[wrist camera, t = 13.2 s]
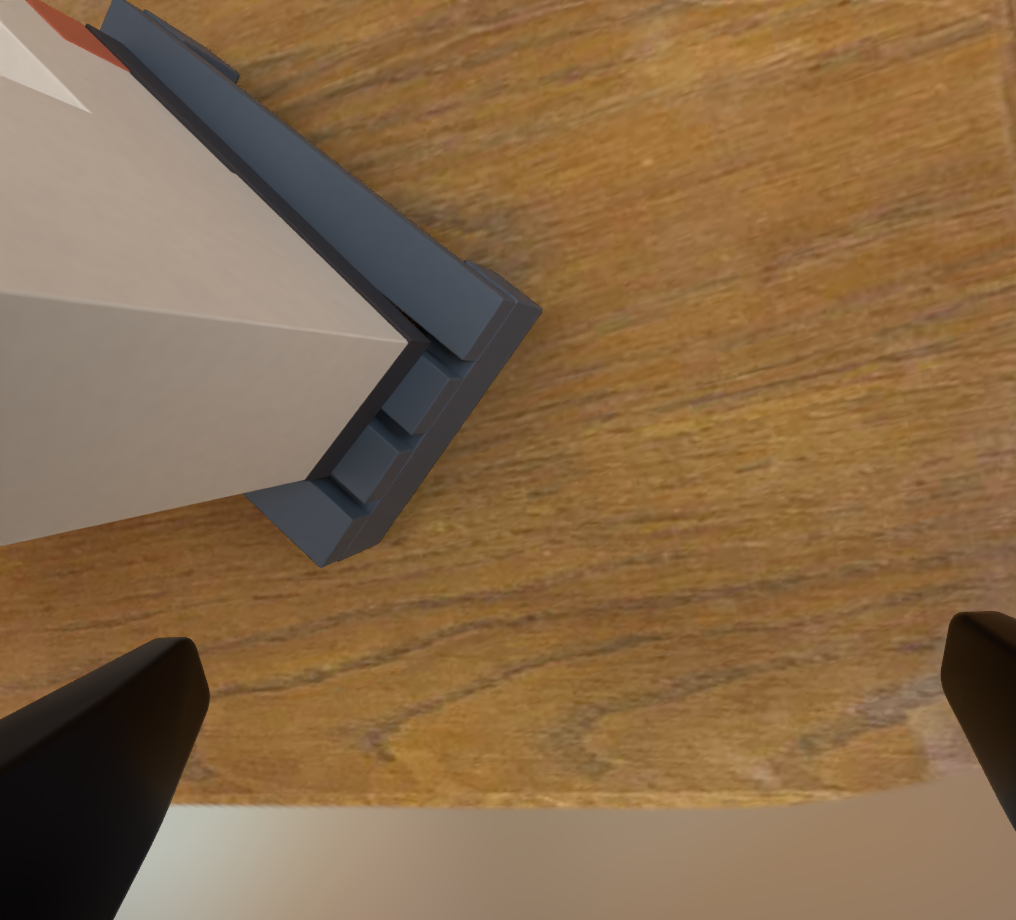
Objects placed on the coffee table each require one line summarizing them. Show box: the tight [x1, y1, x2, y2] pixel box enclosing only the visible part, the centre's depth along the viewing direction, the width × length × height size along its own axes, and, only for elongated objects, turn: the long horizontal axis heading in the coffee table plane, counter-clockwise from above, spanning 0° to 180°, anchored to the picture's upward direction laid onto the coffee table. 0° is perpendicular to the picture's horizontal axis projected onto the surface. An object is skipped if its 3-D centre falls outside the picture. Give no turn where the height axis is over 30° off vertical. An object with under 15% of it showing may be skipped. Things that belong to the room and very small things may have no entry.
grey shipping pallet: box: [100, 0, 542, 568], centre depth 22 cm, size 16×10×4 cm, turn 53°
